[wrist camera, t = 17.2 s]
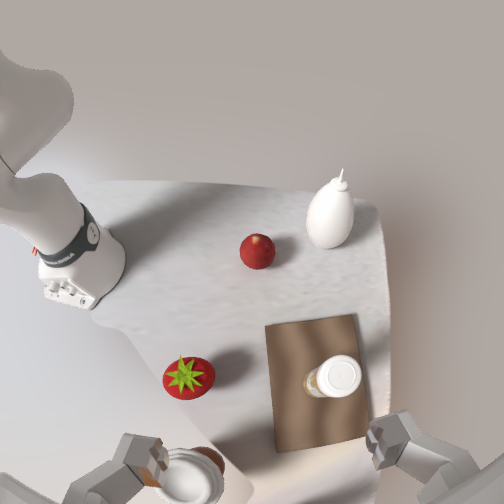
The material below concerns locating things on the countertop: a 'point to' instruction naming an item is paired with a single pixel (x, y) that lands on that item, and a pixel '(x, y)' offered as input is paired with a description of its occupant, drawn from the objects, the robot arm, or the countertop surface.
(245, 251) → the onion
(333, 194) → the sauce bottle
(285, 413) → the walnut board
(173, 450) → the coffee cup
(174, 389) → the strawberry
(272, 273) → the countertop surface
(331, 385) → the sprinkles bottle
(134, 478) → the robot arm
